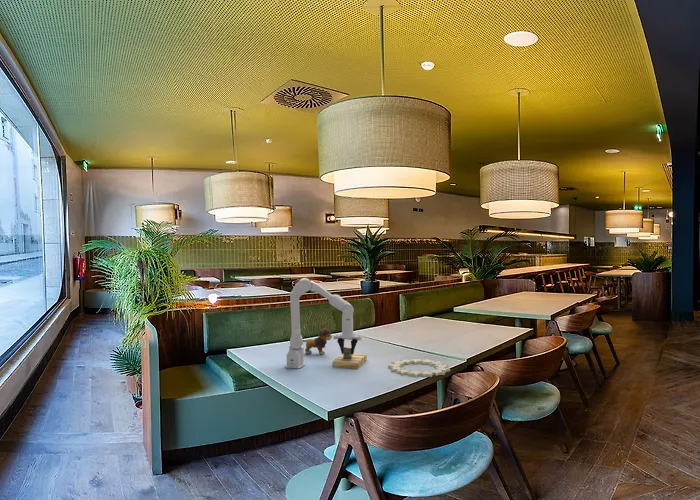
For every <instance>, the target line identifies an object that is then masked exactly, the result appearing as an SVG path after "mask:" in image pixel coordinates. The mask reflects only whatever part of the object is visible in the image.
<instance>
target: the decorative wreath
mask: <svg viewBox="0 0 700 500" xmlns="http://www.w3.org/2000/svg"><path fill="white" fill-rule="evenodd" d="M411 364H414V365H417V364H419V365H421V364H422V365H423V366H424V365H428V366H430V367H433V369H432V370H425V371H419V370H411V369H406V368H405V367H404V365H405V366H406V365H407V366H408V365H411ZM387 369H390V372H391V373H395V374H399V375H401V376H404V375H405V376H408V377H414V378H418V377H422V378H425V377H428V378H433V376H445V374H446V373H449V372H451V368H449V364H444V363H443V362H441V361H440V360H439V361H435V360H431V359H428V358H427V359H422V358H419V359H418V358H413V359H400V361H399V360H397V361H391V363H390V364H389V365H387Z"/></svg>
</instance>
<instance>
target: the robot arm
mask: <svg viewBox="0 0 700 500" xmlns="http://www.w3.org/2000/svg"><path fill="white" fill-rule="evenodd" d="M309 291H310V292H316V293H317V294H319V295H321V296H322V297H324V298H325V299H327V300H328V303H329V305H331V306H333V307H334V308H335V309H337V310H338V311H341V312H342V313H341V314H342V318H341V334H334V335H333V340H337V341H336V342H337V344H338V346H339V348H340V353H341V354H343V348H344V347H345V340H347V341H349V340H350V346H351V354H354V353H355V349H356V346H357V343H358V341H360V342H361V341H362V340H363V336H362V335H356V334H354V318H353V317H354V312H355V309H354V306H353V305H352V304H351V303H349V301H347V300H344V298H343V297H341V295H340V294H336V293H335V294H332V293H330V292H329V291H328V290H326V289H325V288H324V287H322V286H321V285H320V284H319V283H317V282H315V281H313V280H310V279H309V278H308V277H303V278H301V279H299V280H298V281H297V282H296V284H295V285H294V287H293V288H292V290H291V292H290V295H289V296H290V297H289V298H290V299H289V300H290V302H289V303H290V318H291V319H290V322H291V323H290V326H291V327H290V328H291V335H290V337H289V338H290V339H289V341H290V342H289V347H288V349H289V351H288V352H287V353H286V365H284V368H288V369H289V368H290V369H301V368H303V367H304V366H306V365H307V362H304V361H305V359H304V356H305V355H304V352H305V347H304V346H303V343H304V342H303V340H304V339H303V336H302V334H301V313H300V312H301V311H300V310H301V309H300V297H302V296H303V294H305V293H307V292H309Z"/></svg>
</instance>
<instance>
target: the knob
mask: <svg viewBox="0 0 700 500" xmlns="http://www.w3.org/2000/svg"><path fill="white" fill-rule="evenodd" d="M343 353H344V355H343V359H351V358H352V354H351V347H350V346H344V348H343Z"/></svg>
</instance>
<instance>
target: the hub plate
mask: <svg viewBox="0 0 700 500" xmlns="http://www.w3.org/2000/svg"><path fill="white" fill-rule="evenodd" d="M343 355H344V353H343V354H342V353H341V354H340V355H338V356H337V357H336V358H334V359H332V367H333V368H339V369H340V368H341V369H357V370H358V369H359V368H360V367H361V366H362V365H363V364H364V363H365V362H366V361H367V355H368V354H367V353H355V352H354V354H352V358H351V359H343Z"/></svg>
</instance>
